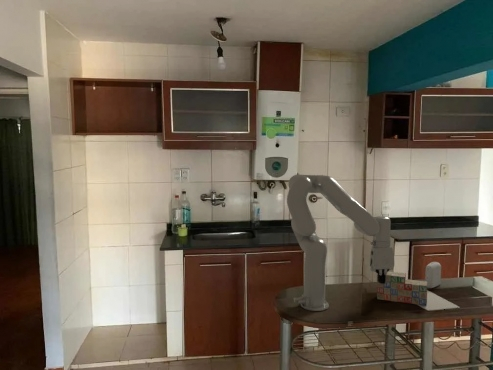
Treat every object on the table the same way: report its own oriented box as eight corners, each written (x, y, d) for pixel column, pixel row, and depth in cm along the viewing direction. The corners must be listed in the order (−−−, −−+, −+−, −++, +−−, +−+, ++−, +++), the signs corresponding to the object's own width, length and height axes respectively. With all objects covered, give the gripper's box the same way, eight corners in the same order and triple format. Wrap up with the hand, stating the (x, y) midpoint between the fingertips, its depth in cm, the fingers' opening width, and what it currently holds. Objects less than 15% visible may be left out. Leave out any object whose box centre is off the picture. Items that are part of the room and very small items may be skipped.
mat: (427, 311, 163) (427, 310, 163) (393, 290, 189) (393, 289, 189) (459, 308, 167) (459, 307, 167) (421, 288, 192) (421, 287, 192)
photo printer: (432, 289, 191) (432, 265, 190) (423, 286, 194) (424, 263, 193) (441, 284, 197) (442, 261, 196) (433, 282, 200) (434, 259, 199)
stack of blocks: (427, 301, 173) (427, 275, 172) (426, 306, 168) (426, 279, 167) (378, 294, 183) (378, 269, 182) (376, 299, 178) (376, 273, 177)
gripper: (370, 246, 166) (371, 287, 168) (401, 244, 169) (401, 284, 170) (362, 243, 173) (362, 281, 175) (391, 240, 176) (391, 278, 178)
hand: (381, 282), depth 173 cm, fingers closed
